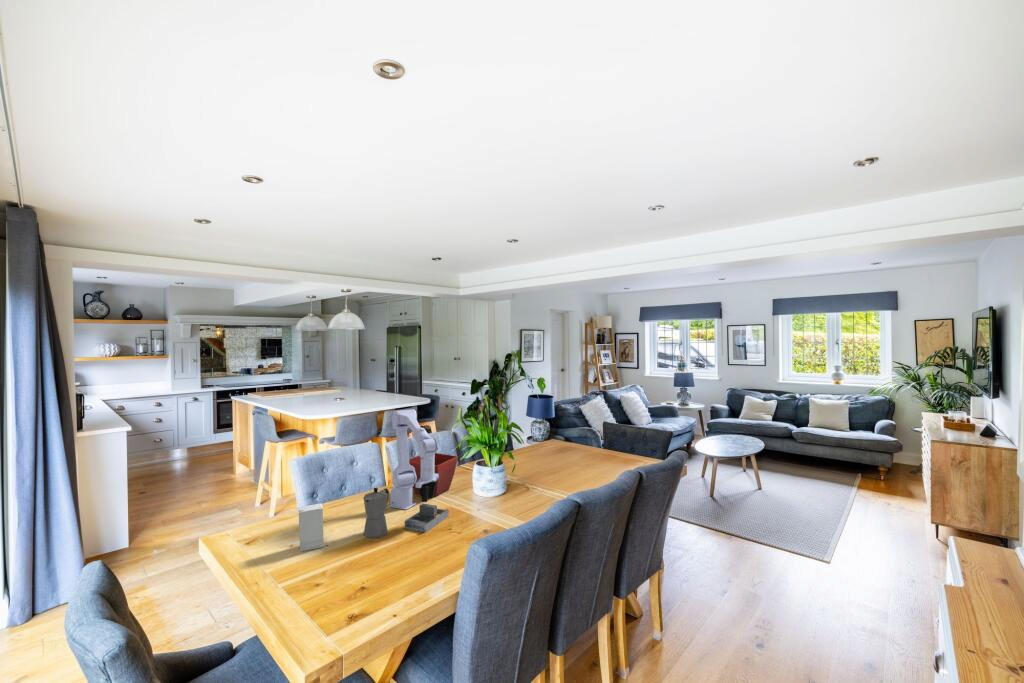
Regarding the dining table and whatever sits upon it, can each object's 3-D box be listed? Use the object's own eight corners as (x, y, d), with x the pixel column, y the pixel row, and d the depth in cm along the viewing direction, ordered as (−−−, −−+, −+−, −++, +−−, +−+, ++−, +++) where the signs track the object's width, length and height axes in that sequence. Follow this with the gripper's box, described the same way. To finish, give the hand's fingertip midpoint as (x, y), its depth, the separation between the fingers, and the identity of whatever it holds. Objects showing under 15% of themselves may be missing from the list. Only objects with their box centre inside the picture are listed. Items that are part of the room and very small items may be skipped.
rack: (404, 528, 187) (404, 519, 187) (428, 513, 203) (428, 504, 203) (425, 532, 183) (425, 523, 183) (448, 516, 200) (448, 507, 200)
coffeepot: (376, 541, 175) (376, 494, 174) (355, 538, 177) (355, 491, 177) (398, 526, 189) (398, 482, 189) (378, 523, 192) (378, 480, 192)
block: (419, 519, 193) (419, 505, 193) (422, 517, 195) (422, 503, 195) (433, 522, 191) (433, 507, 191) (436, 520, 193) (436, 505, 193)
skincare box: (322, 541, 175) (322, 502, 175) (323, 548, 169) (324, 507, 169) (298, 545, 171) (298, 505, 171) (298, 552, 166) (298, 511, 165)
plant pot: (436, 500, 219) (437, 465, 219) (404, 494, 227) (404, 460, 227) (458, 488, 236) (458, 456, 236) (427, 483, 245) (427, 451, 244)
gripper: (426, 473, 185) (426, 507, 185) (444, 464, 198) (444, 495, 198) (411, 471, 187) (411, 504, 188) (430, 462, 201) (430, 493, 201)
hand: (427, 500), depth 193 cm, fingers open, 4 cm apart
